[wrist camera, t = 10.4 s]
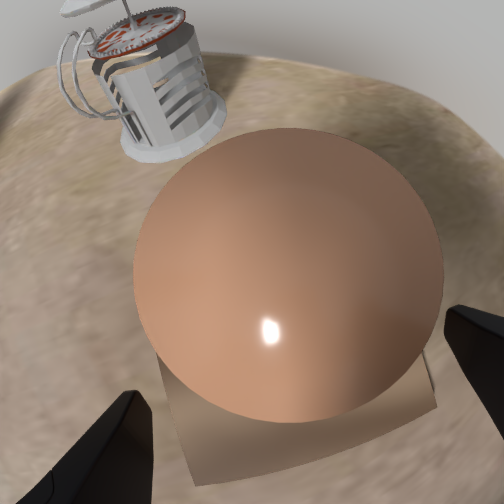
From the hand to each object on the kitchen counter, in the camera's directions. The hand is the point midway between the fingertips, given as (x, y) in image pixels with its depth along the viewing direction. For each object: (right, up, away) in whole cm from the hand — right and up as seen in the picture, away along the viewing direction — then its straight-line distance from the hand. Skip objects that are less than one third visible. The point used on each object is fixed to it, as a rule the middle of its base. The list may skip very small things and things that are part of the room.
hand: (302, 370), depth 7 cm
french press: (-9, +14, +17) cm, 23 cm away
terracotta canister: (0, -2, +8) cm, 8 cm away
